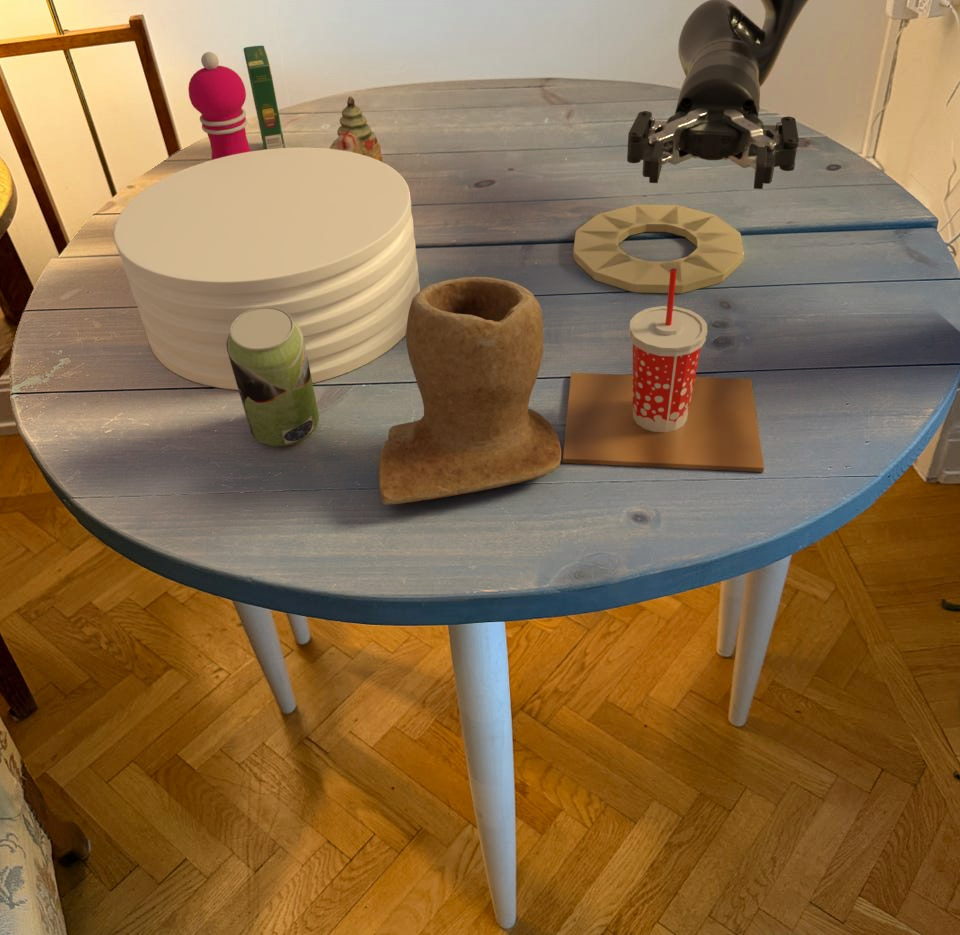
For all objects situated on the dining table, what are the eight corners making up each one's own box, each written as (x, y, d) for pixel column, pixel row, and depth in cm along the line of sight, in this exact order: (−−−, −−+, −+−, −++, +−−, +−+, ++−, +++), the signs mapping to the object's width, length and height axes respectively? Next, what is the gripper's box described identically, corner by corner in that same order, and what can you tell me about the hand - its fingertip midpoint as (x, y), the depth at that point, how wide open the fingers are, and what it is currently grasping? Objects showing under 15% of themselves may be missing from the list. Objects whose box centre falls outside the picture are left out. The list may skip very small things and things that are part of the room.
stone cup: (537, 401, 83) (534, 249, 73) (574, 489, 74) (577, 329, 64) (367, 429, 81) (342, 277, 71) (385, 523, 72) (358, 364, 62)
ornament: (371, 191, 117) (360, 111, 110) (324, 190, 118) (311, 110, 111) (387, 164, 122) (378, 87, 116) (342, 163, 123) (331, 87, 117)
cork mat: (750, 383, 83) (751, 378, 83) (763, 472, 74) (764, 467, 74) (570, 376, 85) (571, 372, 85) (562, 463, 76) (562, 458, 76)
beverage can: (307, 401, 84) (281, 285, 76) (336, 445, 79) (313, 326, 71) (240, 424, 82) (207, 307, 74) (266, 471, 77) (234, 352, 69)
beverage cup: (687, 391, 82) (704, 247, 72) (703, 435, 77) (724, 287, 68) (617, 396, 82) (626, 253, 72) (630, 440, 77) (640, 293, 68)
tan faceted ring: (735, 213, 107) (736, 205, 107) (748, 295, 94) (749, 286, 93) (578, 211, 110) (578, 203, 109) (569, 291, 96) (569, 282, 96)
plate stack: (98, 380, 88) (56, 273, 81) (212, 239, 109) (187, 144, 101) (382, 400, 84) (365, 289, 76) (445, 249, 104) (437, 150, 97)
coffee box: (289, 164, 124) (270, 62, 116) (268, 167, 124) (246, 66, 115) (283, 142, 130) (264, 43, 121) (263, 145, 130) (242, 46, 121)
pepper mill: (207, 227, 111) (160, 54, 98) (258, 207, 115) (220, 37, 102) (237, 247, 107) (193, 69, 94) (290, 226, 111) (255, 50, 97)
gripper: (645, 60, 87) (621, 126, 76) (803, 64, 84) (804, 133, 72) (640, 139, 92) (617, 212, 80) (790, 146, 89) (789, 223, 77)
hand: (706, 175), depth 76 cm, fingers open, 8 cm apart
